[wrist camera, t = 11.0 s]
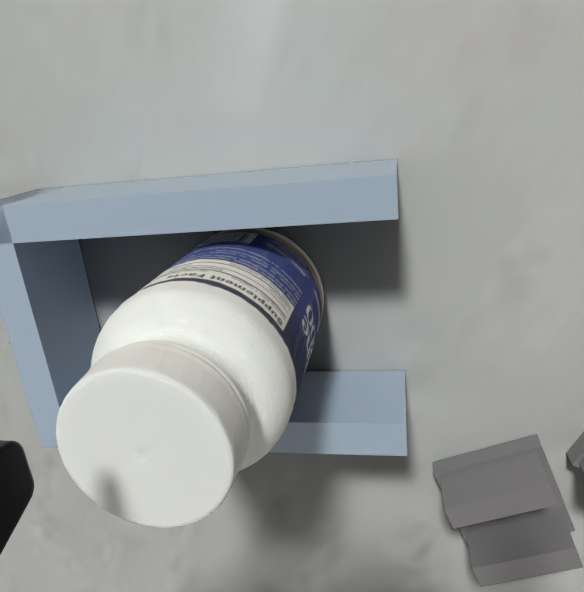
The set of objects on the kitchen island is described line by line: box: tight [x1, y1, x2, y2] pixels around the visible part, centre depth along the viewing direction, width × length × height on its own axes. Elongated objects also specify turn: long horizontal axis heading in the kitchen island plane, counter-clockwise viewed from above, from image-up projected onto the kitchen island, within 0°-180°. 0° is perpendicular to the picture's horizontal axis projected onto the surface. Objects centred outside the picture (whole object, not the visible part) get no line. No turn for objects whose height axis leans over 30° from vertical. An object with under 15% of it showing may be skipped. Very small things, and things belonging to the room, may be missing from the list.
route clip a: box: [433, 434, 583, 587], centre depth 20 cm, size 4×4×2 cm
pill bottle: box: [56, 228, 324, 528], centre depth 16 cm, size 5×5×10 cm
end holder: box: [0, 159, 407, 456], centre depth 19 cm, size 13×9×4 cm
